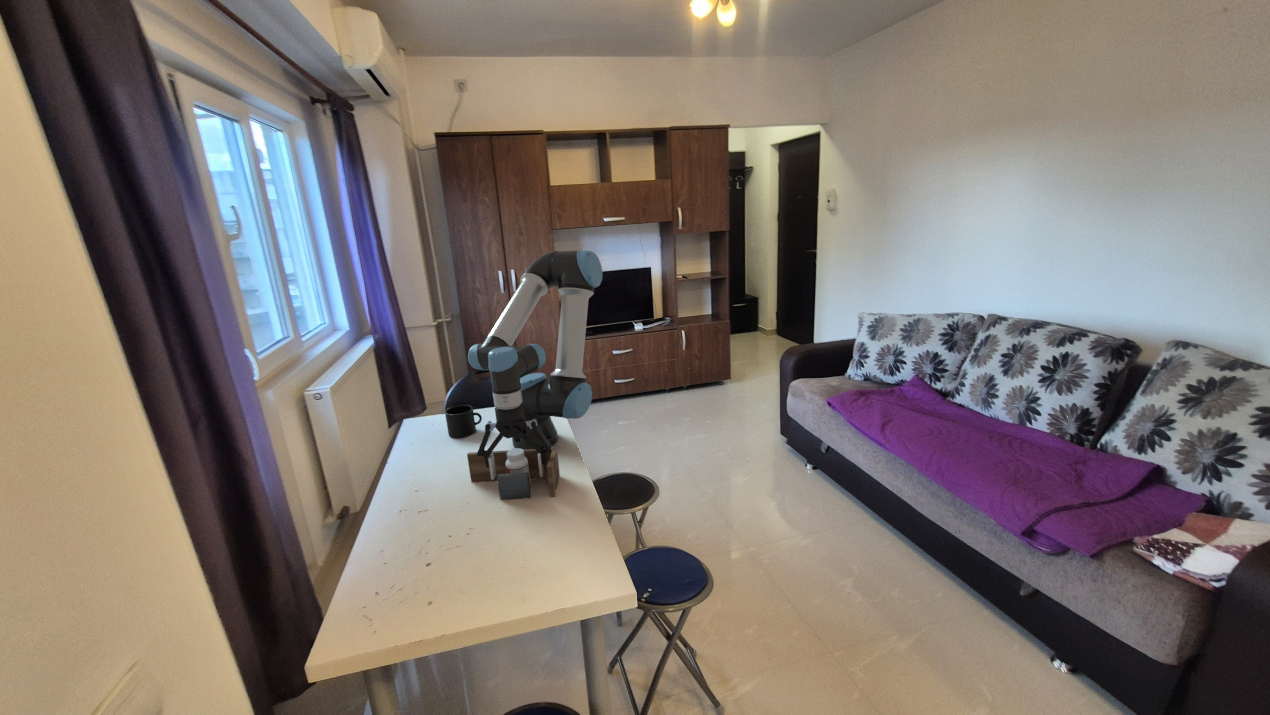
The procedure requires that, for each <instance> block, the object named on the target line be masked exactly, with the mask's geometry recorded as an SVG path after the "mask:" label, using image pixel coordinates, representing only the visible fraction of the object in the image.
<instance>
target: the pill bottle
mask: <svg viewBox="0 0 1270 715" xmlns="http://www.w3.org/2000/svg"><path fill="white" fill-rule="evenodd" d="M507 458H508V459H507V461H506V472H507V473H526V472H528V477H529V485H530V487H531V486H532V482H531V480H530V473H529V466H528V460H527V458H526V457H525V456H524V450H523V449H520V448H515V447H514V448H512V449H510V450H509V451H508V452H507Z"/></svg>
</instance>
